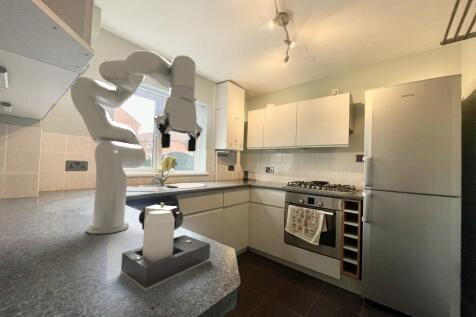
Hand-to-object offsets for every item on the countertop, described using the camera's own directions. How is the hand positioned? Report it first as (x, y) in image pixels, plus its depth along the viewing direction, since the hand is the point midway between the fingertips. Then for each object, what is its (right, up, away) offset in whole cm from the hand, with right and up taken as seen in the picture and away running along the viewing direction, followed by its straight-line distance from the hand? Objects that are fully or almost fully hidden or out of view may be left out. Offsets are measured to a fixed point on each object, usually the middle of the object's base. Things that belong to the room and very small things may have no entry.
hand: (179, 149), depth 61 cm
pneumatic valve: (-4, -28, -5) cm, 29 cm away
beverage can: (+1, -27, -19) cm, 33 cm away
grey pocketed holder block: (+3, -27, -17) cm, 32 cm away
